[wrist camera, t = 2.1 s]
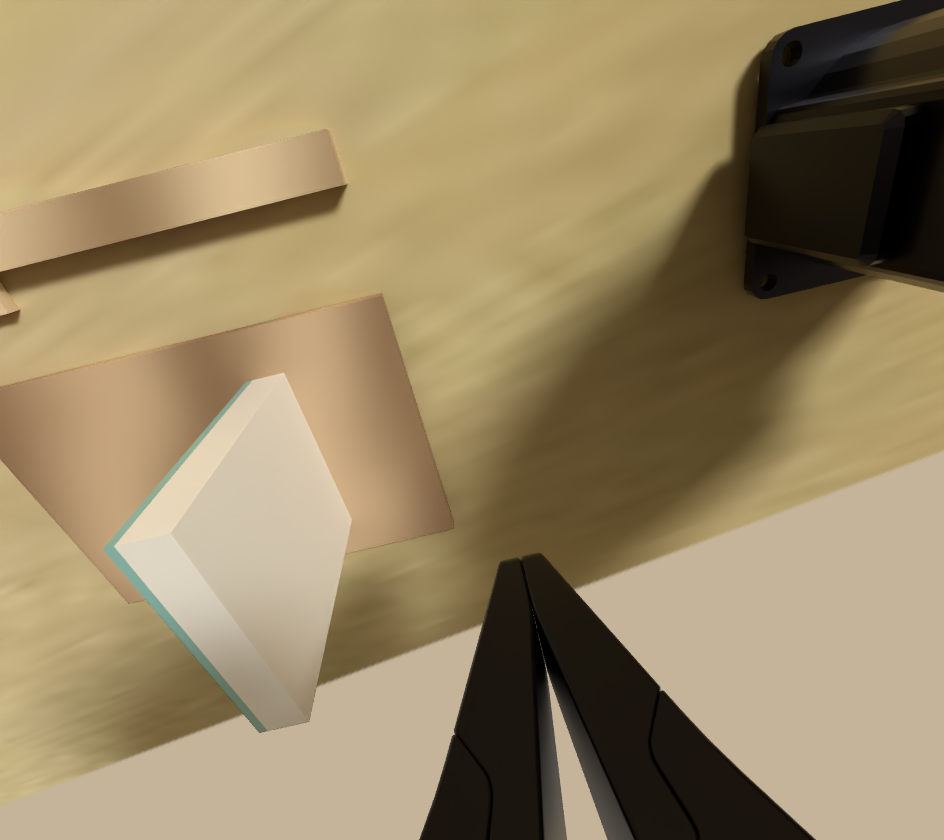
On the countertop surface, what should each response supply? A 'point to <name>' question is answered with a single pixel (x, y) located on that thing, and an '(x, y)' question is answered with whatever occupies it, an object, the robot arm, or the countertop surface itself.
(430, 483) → the brown wooden board
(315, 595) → the tile
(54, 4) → the countertop surface
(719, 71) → the countertop surface
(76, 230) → the wooden turner
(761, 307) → the countertop surface
